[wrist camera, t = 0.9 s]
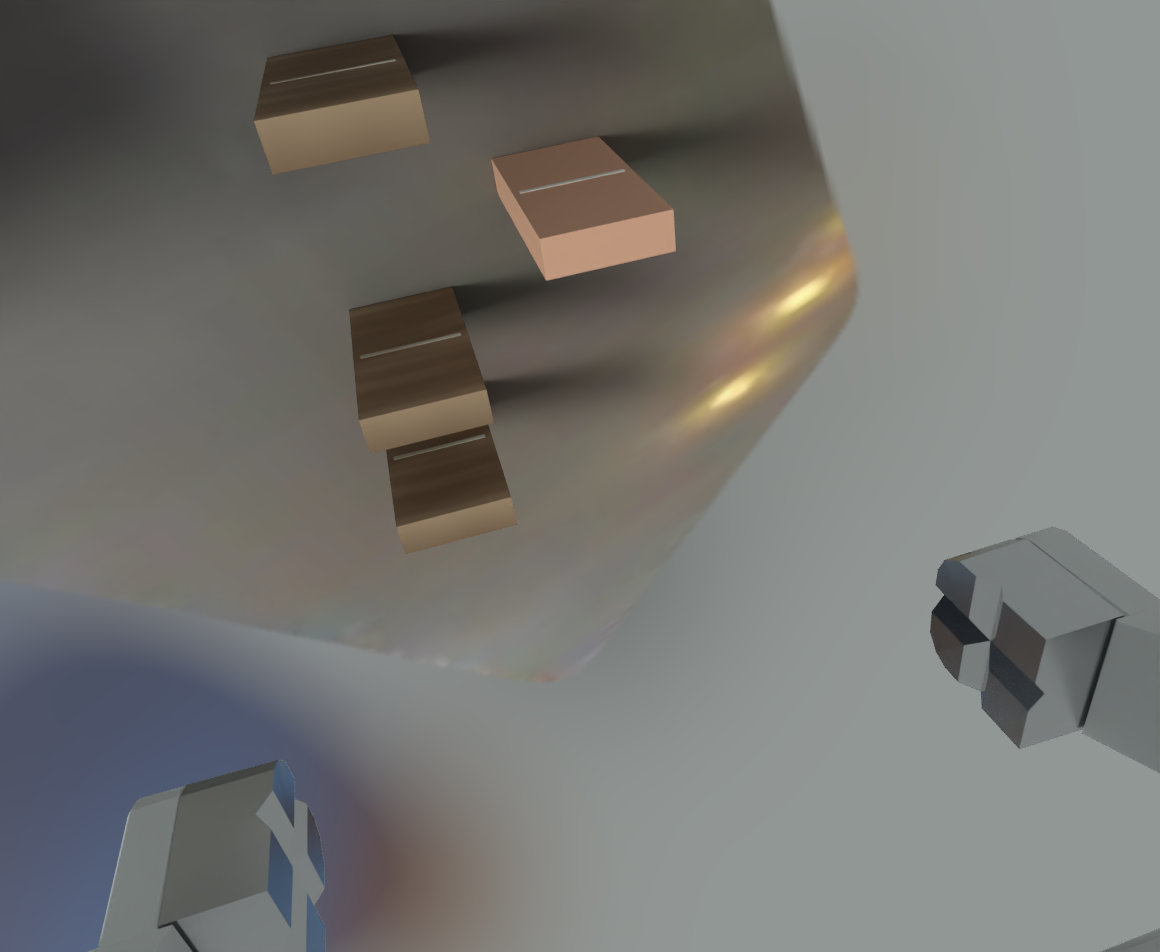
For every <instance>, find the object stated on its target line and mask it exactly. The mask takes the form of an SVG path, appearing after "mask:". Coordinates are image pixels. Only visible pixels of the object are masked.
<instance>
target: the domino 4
mask: <svg viewBox="0 0 1160 952" xmlns="http://www.w3.org/2000/svg"><path fill="white" fill-rule="evenodd" d="M491 160H492V165H493V171H494V176H495V181H496V187H497V192H498V195H499V197H500V199H501V201H502V202H503V204H504V206H505V208H506V210H507V211H508V213H509V215H510V217H511V218H512V220H513V222H514V224H515V226H516V227H517V229H518V231H519V233H520V235H521V236H522V238H523V240H524V242H525V244H526V245H527V247H528V249H529V251H530V253H531V254H532V256H533V258H534V260H535V261H536V263H537V265H538V267H539V269H540V270H541V272H542V274H543V276H544V278H545V279H546V281H547V280H552V279H556V278H560V277H565V276H569V275H574V274H578V273H582V272H587V271H591V270H595V269H600V268H604V267H609V266H613V265H617V264H622V263H626V262H630V261H635V260H639V259H644V258H648V257H652V256H657V255H661V254H665V253H670V252H674V251H676V248H675V229H674V209H673V208H672V207H671V206H670V205H669V204H668V203H666V202H665V201H664V200H663V199H662V198H661V197H660V196H659V195H658V194H657V193H656V192H655V191H654V190H653V189H652V188H651V187H650V186H649V185H648V184H647V183H646V182H645V181H644V180H643V179H642V178H641V177H640V176H639V175H638V174H637V173H636V172H635V171H634V170H632V169H631V168H630V167H629V166H628V165H627V164H626V163H625V162H624V161H623V160H622V159H621V158H620V157H619V156H618V155H617V154H616V153H615V152H614V151H613V150H612V149H611V148H610V147H609V146H608V145H607V144H606V143H605V142H604V141H603V140H602V139H601V138H599V137H593V138H589V139H584V140H579V141H574V142H569V143H564V144H560V145H555V146H550V147H545V148H540V149H536V150H531V151H526V152H521V153H516V154H511V155H507V156H502V157H497V158H492V159H491Z"/></svg>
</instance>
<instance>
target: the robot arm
mask: <svg viewBox="0 0 1160 952" xmlns="http://www.w3.org/2000/svg"><path fill="white" fill-rule="evenodd" d="M936 586H937V587H938V588H939V589H940V590H941V591H942V593H943V594H944V596H943V597H942V599H941V600H940V601H939V603H938V604H937V606H936V607H935V608H934V609H933V611H932V615H931V627H930V633H931V636H932V640H933V643H934V647H935V650H936V653H937V655H938V656H939V658H940V659H941V661H942V663H943V665H944V666H945V668H946V669H947V670H948V671H949V672H950V674H952V676H953V677H954V678H955V679H956V680H957V681H958V682H959V683H962V684H964V685H967V686H969V687H971V688H974V689H976V690H979V691H981V704H982V709H983V710H984V711H985V712H986V713H987V715H989V717H990V718H991V719H992V720H993V721H994V722H995V723H996V724H997V725H998V726H999V728H1001V730H1002V731H1003V732H1004V733H1005V734H1006V735H1007V736H1008V737H1009V738H1010V740H1011V741H1012V742H1013V743H1014V744H1015V745H1016V746H1017V747H1018V748H1019V749H1021V748H1024V747H1027V746H1031V745H1034V744H1037V743H1040V742H1043V741H1047V740H1050V739H1053V738H1056V737H1059V736H1063V735H1066V734H1069V733H1072V732H1075V731H1079V730H1082V729H1083V732H1082V734H1085V735H1087V736H1088V737H1090V738H1092V739H1094V740H1096V741H1098V742H1100V743H1102V744H1104V745H1106V746H1108V747H1110V748H1112V749H1114V750H1116V751H1118V752H1120V753H1122V754H1123V755H1125V756H1128V757H1129V758H1132V759H1133V760H1135V761H1137V762H1139V763H1141V764H1143V765H1145V766H1147V767H1149V768H1151V769H1153V770H1155V771H1157V772H1159V773H1160V600H1159V599H1158V598H1157V597H1155V596H1154V595H1153V594H1151V593H1150V592H1149V591H1147V590H1146V589H1145V588H1143V587H1142V586H1141V585H1139V584H1138V583H1136V582H1135V581H1134V580H1132V579H1131V578H1130V577H1128V576H1127V575H1126V574H1124V573H1123V572H1121V571H1120V570H1119V569H1117V568H1116V567H1115V566H1113V565H1112V564H1111V563H1109V562H1108V561H1106V560H1105V559H1104V558H1102V557H1101V556H1099V555H1098V554H1097V553H1096V552H1094V551H1093V550H1092V549H1090V548H1089V547H1087V546H1086V545H1085V544H1083V543H1082V542H1081V541H1079V540H1077V538H1075V537H1074V536H1073V535H1071V534H1070V533H1068V532H1067V531H1065V530H1062V529H1059V528H1055V527H1050V528H1047V529H1044V530H1040V531H1037V532H1034V533H1031V534H1028V535H1024V536H1021V537H1018V538H1016V539H1013V540H1007V541H1004V542H1001V543H998V544H994V545H991V546H988V547H985V548H981V549H978V550H975V551H972V552H969V553H965V554H962V555H959V556H956V557H953V558H950V559H946V560H944V562H943V563H942V564H941V566H940V567H939V569H938V573H937V579H936ZM294 795H295V779H294V777H293V775H292V773H291V771H290V770H289V768H288V766H287V765H286V763H285V761H284V760H276V761H273V762H269V763H265V764H262V765H258V766H255V767H251V768H247V769H243V770H240V771H236V772H232V773H229V774H225V775H221V776H218V777H214V778H211V779H207V780H203V781H199V782H196V783H192V784H188V785H186V786H184V787H180V788H177V789H173V790H169V791H166V792H162V793H159V794H155V795H151V796H148V797H144V798H140V799H138V800H137V802H136V803H135V805H134V806H133V808H132V809H131V811H130V813H129V814H128V819H127V823H126V827H125V832H124V836H123V840H122V845H121V849H120V854H119V858H118V863H117V867H116V871H115V876H114V880H113V885H112V889H111V894H110V898H109V902H108V907H107V911H106V916H105V920H104V924H103V929H102V933H101V938H100V942H99V946H98V948H97V949H94V950H91V951H89V952H325V925H324V924H323V922H322V920H321V918H320V916H319V914H318V912H317V910H316V908H315V907H314V905H315V903H316V902H317V900H318V898H319V896H320V895H321V893H322V892H323V890H324V888H325V878H324V859H323V854H322V847H321V841H320V835H319V832H318V829H317V826H316V823H315V820H314V817H313V815H312V813H311V811H310V809H309V807H308V804H305V803H303V802H301V801H298V800H296V799H294V797H295V796H294ZM1101 952H1160V929H1157V930H1154V931H1152V932H1149V933H1147V934H1144V935H1142V936H1139V937H1137V938H1134V939H1131V940H1129V941H1126V942H1124V943H1122V944H1119V945H1117V946H1114V947H1111V948H1109V949H1106V950H1104V951H1101Z"/></svg>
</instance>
